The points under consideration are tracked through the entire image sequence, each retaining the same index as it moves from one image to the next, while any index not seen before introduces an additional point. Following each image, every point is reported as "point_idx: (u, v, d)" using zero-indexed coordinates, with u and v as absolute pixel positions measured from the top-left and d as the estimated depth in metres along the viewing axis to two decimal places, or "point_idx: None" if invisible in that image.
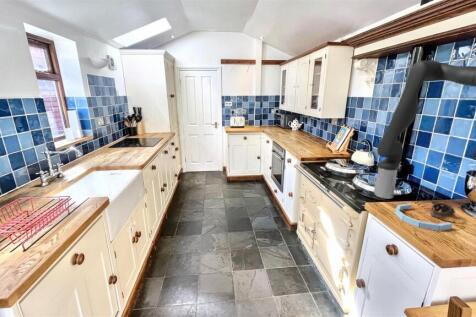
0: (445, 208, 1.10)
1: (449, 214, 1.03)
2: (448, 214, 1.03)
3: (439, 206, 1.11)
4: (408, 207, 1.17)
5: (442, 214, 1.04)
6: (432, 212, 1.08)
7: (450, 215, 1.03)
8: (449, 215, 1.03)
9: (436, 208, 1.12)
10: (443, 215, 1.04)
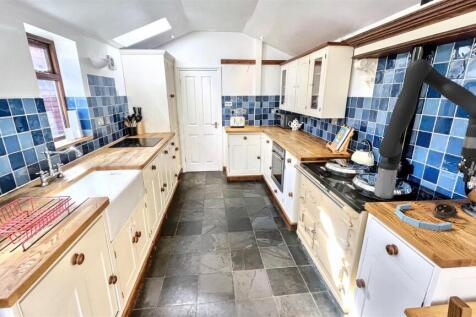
0: (448, 208, 1.09)
1: (452, 214, 1.03)
2: (451, 214, 1.03)
3: (442, 206, 1.11)
4: (408, 207, 1.17)
5: (445, 214, 1.04)
6: (435, 212, 1.08)
7: (453, 215, 1.03)
8: (452, 215, 1.03)
9: (438, 209, 1.11)
10: (446, 215, 1.04)
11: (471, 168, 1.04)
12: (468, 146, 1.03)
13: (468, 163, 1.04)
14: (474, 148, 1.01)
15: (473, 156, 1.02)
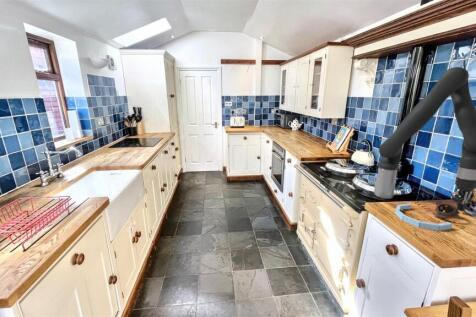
0: (449, 209, 1.09)
1: (454, 215, 1.03)
2: (453, 215, 1.03)
3: (443, 207, 1.10)
4: (408, 207, 1.17)
5: (447, 215, 1.04)
6: (436, 213, 1.07)
7: (455, 216, 1.03)
8: (454, 216, 1.03)
9: (440, 209, 1.11)
10: (448, 216, 1.04)
11: (465, 198, 1.08)
12: (462, 177, 1.06)
13: (462, 193, 1.07)
14: (467, 179, 1.04)
15: (466, 187, 1.05)
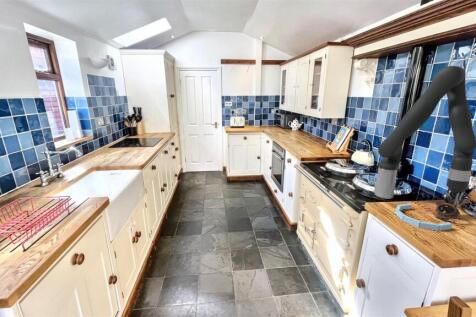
0: (449, 209, 1.09)
1: (454, 215, 1.02)
2: (453, 215, 1.02)
3: (443, 207, 1.10)
4: (408, 207, 1.17)
5: (447, 215, 1.03)
6: (437, 213, 1.07)
7: (455, 216, 1.02)
8: (454, 216, 1.02)
9: (440, 209, 1.11)
10: (448, 216, 1.03)
11: (456, 199, 1.07)
12: (453, 178, 1.05)
13: (453, 194, 1.07)
14: (458, 181, 1.04)
15: (458, 188, 1.05)
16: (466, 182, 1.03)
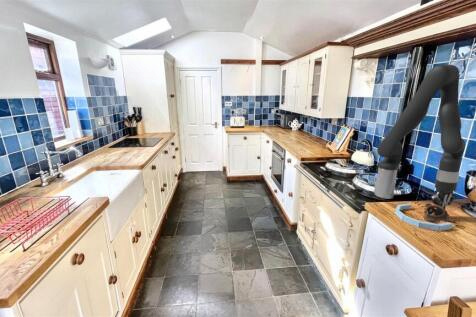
0: (438, 211, 1.07)
1: (443, 217, 1.01)
2: (442, 217, 1.01)
3: (432, 209, 1.08)
4: (408, 207, 1.17)
5: (436, 217, 1.01)
6: (425, 215, 1.05)
7: (444, 218, 1.00)
8: (443, 218, 1.01)
9: (429, 211, 1.09)
10: (437, 218, 1.01)
11: (444, 201, 1.06)
12: (441, 179, 1.04)
13: (441, 196, 1.05)
14: (447, 182, 1.02)
15: (446, 190, 1.03)
16: (454, 183, 1.02)
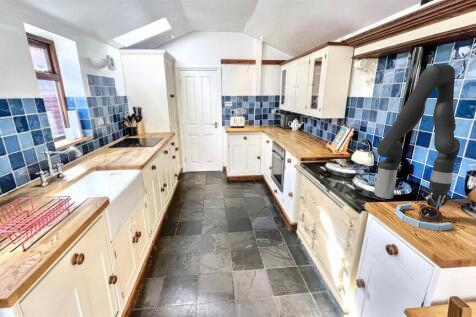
0: (433, 212, 1.06)
1: (437, 218, 1.00)
2: (436, 218, 1.00)
3: (426, 210, 1.07)
4: (408, 207, 1.17)
5: (430, 218, 1.01)
6: (420, 216, 1.05)
7: (438, 219, 1.00)
8: (437, 219, 1.00)
9: (423, 212, 1.08)
10: (431, 219, 1.01)
11: (438, 201, 1.05)
12: (435, 180, 1.03)
13: (435, 197, 1.05)
14: (440, 183, 1.02)
15: (439, 190, 1.03)
16: (448, 184, 1.01)
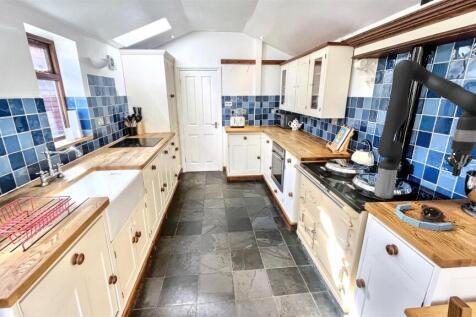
0: (434, 212, 1.06)
1: (439, 219, 1.00)
2: (438, 219, 1.00)
3: (428, 210, 1.07)
4: (408, 207, 1.17)
5: (432, 219, 1.00)
6: (422, 217, 1.04)
7: (440, 220, 0.99)
8: (439, 220, 1.00)
9: (425, 212, 1.08)
10: (433, 220, 1.00)
11: (461, 162, 1.02)
12: (458, 139, 1.00)
13: (458, 157, 1.02)
14: (464, 141, 0.99)
15: (463, 149, 1.00)
16: (472, 143, 0.98)
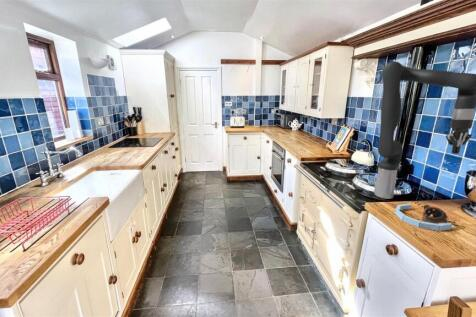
0: (437, 212, 1.06)
1: (442, 219, 0.99)
2: (441, 219, 0.99)
3: (431, 210, 1.07)
4: (408, 207, 1.17)
5: (435, 219, 1.00)
6: (424, 217, 1.04)
7: (443, 220, 0.99)
8: (442, 220, 0.99)
9: (427, 213, 1.08)
10: (436, 220, 1.00)
11: (460, 139, 1.08)
12: (457, 118, 1.06)
13: (457, 134, 1.08)
14: (462, 119, 1.05)
15: (461, 127, 1.06)
16: (470, 120, 1.04)
